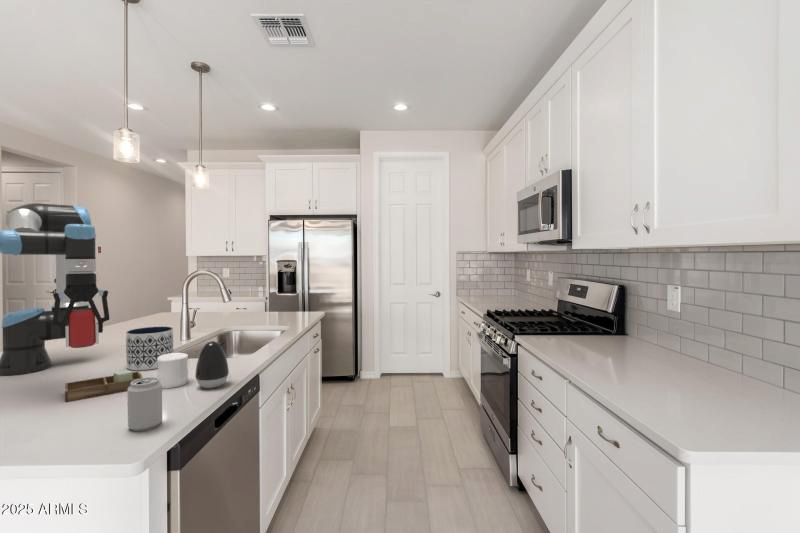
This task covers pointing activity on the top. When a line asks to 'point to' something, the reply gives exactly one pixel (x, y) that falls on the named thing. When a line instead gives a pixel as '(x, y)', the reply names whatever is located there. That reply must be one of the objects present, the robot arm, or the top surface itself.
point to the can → (144, 403)
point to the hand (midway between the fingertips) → (82, 344)
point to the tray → (96, 387)
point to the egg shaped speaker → (212, 366)
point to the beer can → (81, 328)
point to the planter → (147, 347)
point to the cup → (172, 370)
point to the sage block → (123, 376)
